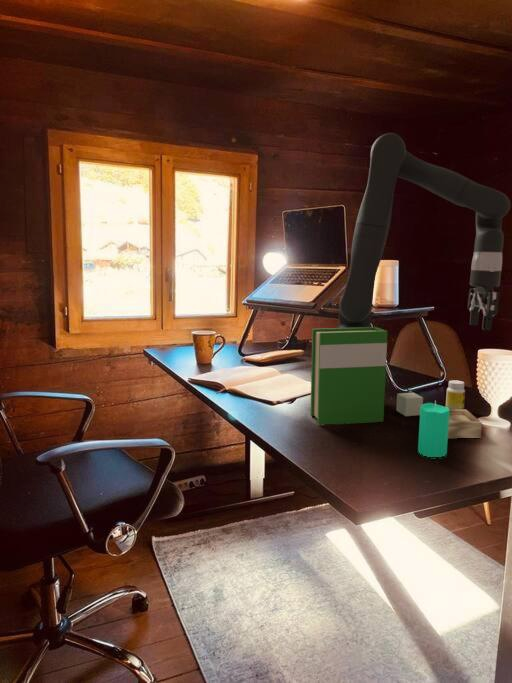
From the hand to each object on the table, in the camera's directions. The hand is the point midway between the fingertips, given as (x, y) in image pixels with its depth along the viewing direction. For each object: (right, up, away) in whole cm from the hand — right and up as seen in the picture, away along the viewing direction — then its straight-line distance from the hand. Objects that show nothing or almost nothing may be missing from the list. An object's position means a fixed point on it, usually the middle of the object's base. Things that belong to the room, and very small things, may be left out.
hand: (479, 327), depth 137 cm
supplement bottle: (-7, -24, 0) cm, 25 cm away
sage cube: (-20, -24, -1) cm, 31 cm away
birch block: (-14, -26, -16) cm, 33 cm away
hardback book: (-39, -25, -6) cm, 46 cm away
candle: (-24, -29, -29) cm, 47 cm away
